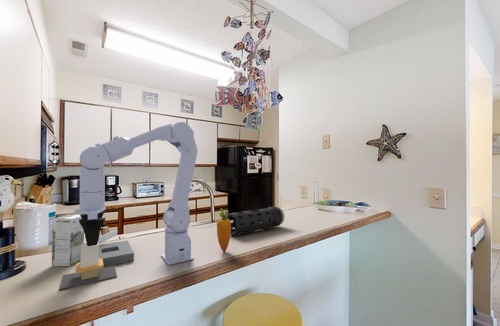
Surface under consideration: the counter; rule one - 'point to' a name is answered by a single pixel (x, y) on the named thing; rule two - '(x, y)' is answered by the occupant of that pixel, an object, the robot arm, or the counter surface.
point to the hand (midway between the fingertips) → (92, 241)
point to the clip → (107, 236)
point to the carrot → (223, 230)
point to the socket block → (116, 253)
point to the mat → (75, 279)
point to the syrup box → (67, 240)
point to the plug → (89, 261)
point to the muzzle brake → (255, 220)
